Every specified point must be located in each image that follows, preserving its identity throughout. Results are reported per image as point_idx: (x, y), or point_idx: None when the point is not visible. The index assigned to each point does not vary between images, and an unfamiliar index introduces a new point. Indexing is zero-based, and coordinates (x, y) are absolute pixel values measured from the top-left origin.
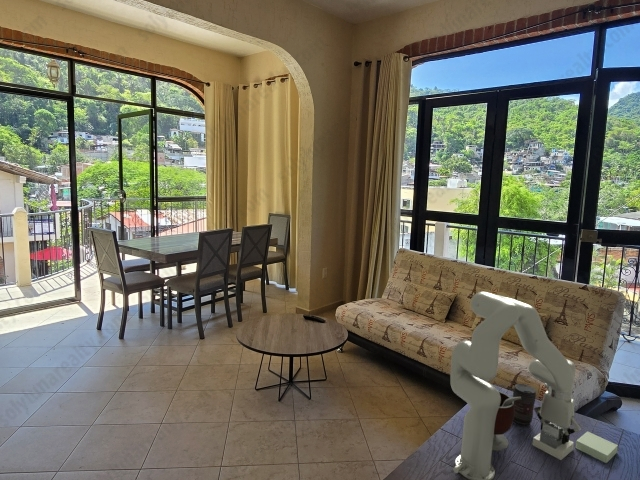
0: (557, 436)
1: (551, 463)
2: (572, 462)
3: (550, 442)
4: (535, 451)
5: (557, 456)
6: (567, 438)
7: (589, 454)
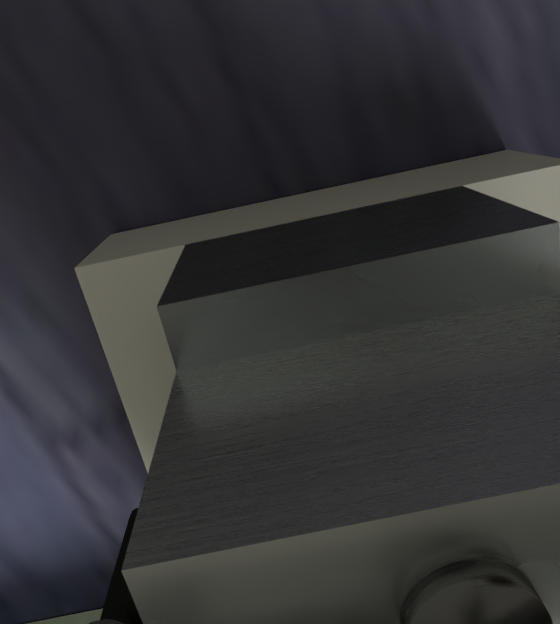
0: (181, 402)
1: (99, 22)
2: (34, 339)
3: (279, 241)
4: (396, 50)
5: (155, 230)
6: (114, 572)
7: (84, 615)
